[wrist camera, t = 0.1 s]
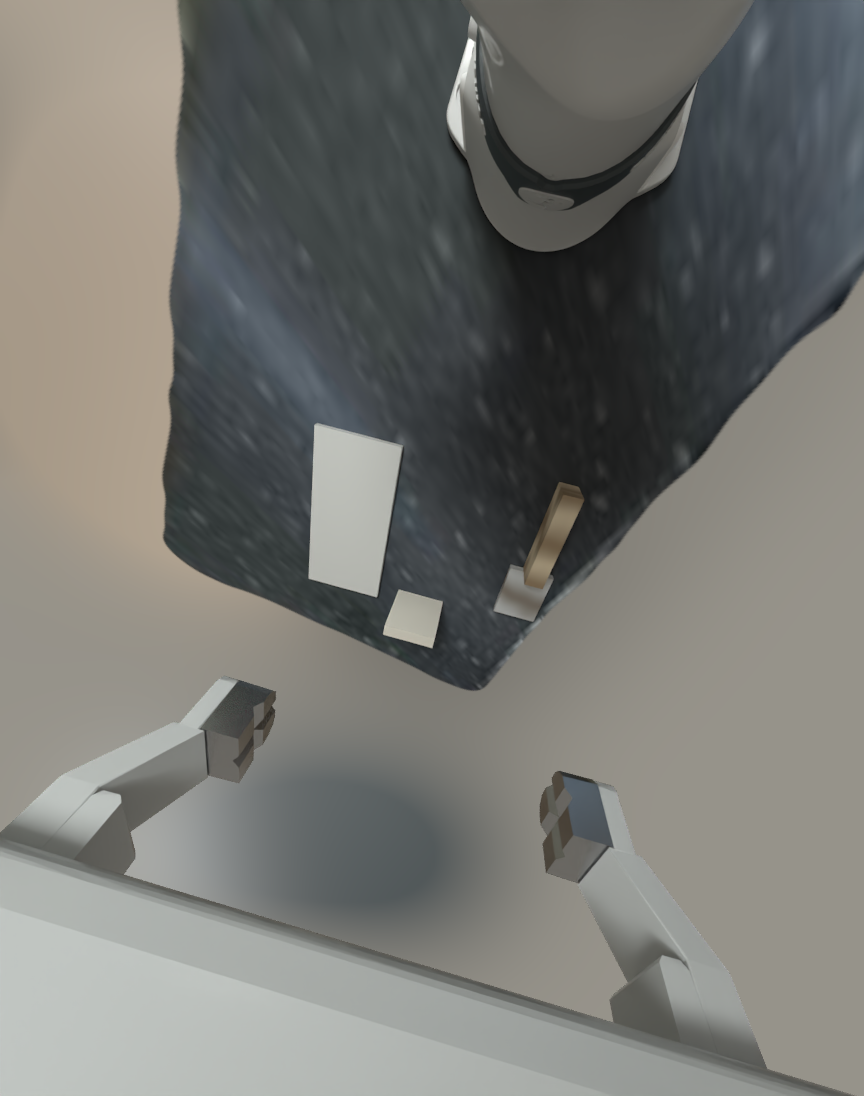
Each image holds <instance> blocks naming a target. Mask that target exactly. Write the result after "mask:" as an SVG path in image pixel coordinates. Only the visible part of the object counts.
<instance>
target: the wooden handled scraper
mask: <svg viewBox="0 0 864 1096" xmlns="http://www.w3.org/2000/svg"><path fill="white" fill-rule="evenodd" d="M583 502H584V498H583V496H582V493H581V491H580V489H579V487H577V486H573V485H570V484H566V483H562V482H559V483H558V486H557V488H556V490H555V493H554V495H553V498H552V500H551V502H550V505H549V507H548V510H547V512H546V514H545V517H544V519H543V522H542V524H541V526H540V529H539V531H538V533H537V536H536V538H535V541H534V543H533V545H532V548H531V550H530V553H529V555H528V557H527V560H526V562H525V565H524V567H519V566H515V565H511V564H510V567H509V570H508V572H507V575H506V577H505V580H504V582H503V585H502V587H501V590H500V592H499V595H498V597H497V600H496V603H495V605H494V611H495V612H499V613H503V614H506V615H510V616H514V617H517V618H521V619H525V620H528V621H532V622H533V621H534V619H535V617H536V615H537V613H538V611H539V609H540V607H541V605H542V603H543V600H544V598H545V596H546V594H547V592H548V590H549V588H550V586H551V584H552V582H553V580H554V579H553V576H552V575H549V574H550V572H551V570H552V568H553V566H554V564H555V562H556V560H557V557H558V555H559V553H560V551H561V549H562V547H563V545H564V543H565V540H566V538H567V536H568V534H569V532H570V530H571V528H572V526H573V523H574V521H575V519H576V517H577V515H578V513H579V511H580V509H581V506H582V504H583Z"/></svg>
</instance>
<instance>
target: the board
mask: <svg viewBox="0 0 864 1096" xmlns="http://www.w3.org/2000/svg"><path fill="white" fill-rule="evenodd" d="M402 452H403V445H399V444H396V443H392V442H388V441H384V440H380V439H376V438H373V437H369V436H365V435H361V434H357V433H353V432H350V431H346V430H342V429H338V428H334V427H330V426H326V425H323V424H319V423H317V424H315V429H314V455H313V480H312V506H311V532H310V558H309V579H312V580H316V581H319V582H323V583H327V584H330V585H334V586H337V587H341V588H345V589H348V590H352V591H356V592H359V593H363V594H367V595H370V596H374V597H377V596H378V593H379V587H380V581H381V575H382V570H383V564H384V558H385V552H386V546H387V540H388V534H389V528H390V522H391V516H392V511H393V505H394V499H395V493H396V487H397V481H398V475H399V469H400V463H401V458H402Z"/></svg>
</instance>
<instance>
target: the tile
mask: <svg viewBox="0 0 864 1096" xmlns="http://www.w3.org/2000/svg"><path fill="white" fill-rule="evenodd" d="M442 604H443V602H442V601H439V600H435V599H431V598H428V597H424V596H420V595H417V594H413V593H409V592H406V591H402V590H399V591H398V593H397V596H396V598H395V601H394V603H393V606H392V608H391V611H390V613H389V616H388V618H387V621H386V624H385V627H384V632H383V635H387V636H390V637H394V638H397V639H401V640H405V641H408V642H412V643H415V644H419V645H423V646H426V647H430V648H432V647H433V643H434V640H435V636H436V631H437V627H438V622H439V618H440V613H441V609H442Z"/></svg>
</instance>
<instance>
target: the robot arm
mask: <svg viewBox="0 0 864 1096" xmlns="http://www.w3.org/2000/svg"><path fill="white" fill-rule="evenodd" d="M460 1H461V2H462V4H463V5H464V6H465V8H466V9H467V10H468V12H469V13H470V15H471V18H470V22H469V28H468V41H467V44H466V48H465V51H464V54H463V58H462V61H461V65H460V68H459V71H458V75H457V78H456V81H455V85H454V88H453V91H452V95H451V98H450V101H449V105H448V109H447V127H448V131H449V133H450V135H451V137H452V139H453V141H454V142H455V144H456V146H457V147H458V149H459V150H460V151H461V153H462V154H463V155H464V157H465V158H466V159H467V162H468V164H469V167H470V170H471V173H472V177H473V181H474V185H475V189H476V193H477V196H478V199H479V201H480V204H481V206H482V208H483V210H484V212H485V214H486V216H487V218H488V219H489V221H490V222H491V224H492V225H493V226H494V227H495V229H496V230H497V231H498V232H499V233H500V234H501V235H502V236H503V237H505V238H506V239H507V240H509V241H510V242H512V243H513V244H515V245H517V246H519V247H522V248H525V249H528V250H533V251H540V252H548V251H557V250H561V249H565V248H568V247H571V246H573V245H576V244H578V243H580V242H582V241H584V240H585V239H587V238H589V237H590V236H592V235H593V234H594V233H596V232H597V231H598V230H600V229H601V228H602V227H603V226H604V225H605V224H606V223H607V222H608V221H609V220H610V219H611V218H612V217H613V216H614V215H615V214H616V213H617V212H618V211H619V210H620V209H621V208H622V207H623V206H624V205H625V204H626V203H628V202H629V201H630V200H631V199H633V198H635V197H637V196H640V195H642V194H644V193H646V192H648V191H650V190H652V189H653V188H655V187H657V186H658V185H660V184H661V183H662V182H664V181H665V180H666V179H667V178H668V176H669V175H670V174H671V172H672V171H673V170H674V168H675V166H676V163H677V161H678V157H679V153H680V149H681V145H682V141H683V137H684V133H685V129H686V125H687V121H688V117H689V113H690V109H691V105H692V101H693V97H694V93H695V89H696V85H697V81H698V78H699V77H700V76H701V74H702V73H703V72H704V71H705V69H706V68H707V67H708V66H709V64H710V63H711V62H712V61H713V59H714V58H715V57H716V56H717V54H718V53H719V52H720V50H721V49H722V48H723V46H724V45H725V44H726V42H727V41H728V40H729V38H730V37H731V36H732V34H733V33H734V31H735V30H736V29H737V27H738V26H739V24H740V23H741V21H742V20H743V18H744V17H745V15H746V13H747V12H748V10H749V9H750V7H751V5H752V4H753V2H754V0H460ZM275 700H276V691H273V690H269V689H266V688H263V687H260V686H256V685H253V684H250V683H247V682H244V681H240V680H237V679H234V678H230V677H227V676H223V677H221V678H220V679H218V680H217V681H216V682H215V683H214V684H213V686H212V687H211V688H210V689H209V690H208V691H207V692H206V694H205V695H204V696H203V697H202V698H201V699H200V700H199V701H198V702H197V704H196V705H195V706H194V707H193V708H192V709H191V710H190V712H189V713H188V714H187V715H186V716H185V717H184V718H183V719H182V721H181V722H180V723H176V722H172V723H170V724H168V725H166V726H164V727H162V728H160V729H158V730H156V731H153V732H152V733H149V734H147V735H145V736H143V737H141V738H139V739H137V740H134V741H133V742H130V743H128V744H126V745H124V746H122V747H120V748H118V749H115V750H114V751H111V752H109V753H107V754H105V755H103V756H101V757H99V758H97V759H94V760H92V761H90V762H88V763H86V764H84V765H82V766H80V767H78V768H75V769H73V770H72V771H69V772H67V773H65V774H63V775H61V776H60V777H59V778H58V779H57V780H56V781H55V782H54V783H53V784H52V785H50V786H49V787H48V788H47V789H46V790H45V791H44V792H43V793H42V794H41V795H40V796H39V797H38V798H37V799H35V801H33V802H32V803H31V804H30V805H29V806H28V807H27V808H26V809H25V810H24V811H23V812H22V813H21V814H20V815H19V816H17V817H16V818H15V819H14V820H13V821H12V822H11V823H10V824H9V825H8V826H7V827H6V828H5V829H4V830H2V831H1V832H0V1096H854V1095H851V1094H848V1093H844V1092H841V1091H838V1090H835V1089H832V1088H828V1087H825V1086H821V1085H818V1084H815V1083H812V1082H808V1081H805V1080H801V1079H798V1078H795V1077H792V1076H788V1075H785V1074H782V1073H778V1072H775V1071H772V1070H769V1069H767V1067H766V1065H765V1062H764V1059H763V1057H762V1054H761V1052H760V1049H759V1047H758V1044H757V1042H756V1039H755V1037H754V1034H753V1031H752V1029H751V1026H750V1024H749V1021H748V1019H747V1016H746V1014H745V1011H744V1008H743V1006H742V1003H741V1001H740V998H739V996H738V993H737V991H736V988H735V986H734V983H733V980H732V978H731V976H730V973H729V972H728V971H727V969H726V968H725V967H724V965H723V964H722V963H721V961H720V960H719V959H718V957H717V956H716V955H715V953H714V952H713V951H712V949H711V948H710V947H709V945H708V944H707V943H706V941H705V940H704V939H703V937H702V936H701V935H700V933H699V932H698V931H697V929H696V928H695V927H694V925H693V924H692V923H691V921H690V920H689V919H688V918H687V916H686V915H685V914H684V912H683V911H682V910H681V908H680V907H679V906H678V904H677V903H676V902H675V900H674V899H673V898H672V896H671V895H670V894H669V892H668V891H667V890H666V888H665V887H664V886H663V884H662V883H661V882H660V880H659V879H658V878H657V876H656V875H655V874H654V872H653V871H652V870H651V869H650V867H649V866H648V865H647V863H646V862H645V861H644V859H643V858H642V857H641V856H638V855H636V854H635V851H634V847H633V844H632V841H631V837H630V834H629V831H628V827H627V825H626V821H625V818H624V814H623V811H622V808H621V805H620V801H619V798H618V794H617V791H616V790H615V788H614V787H613V786H611V785H608V784H604V783H600V782H597V781H593V780H592V779H587V778H584V777H580V776H576V775H573V774H569V773H565V772H561V771H557V772H555V774H554V775H553V777H552V783H553V785H551V786H549V787H547V788H546V789H545V790H544V792H543V794H542V798H541V803H540V823H541V826H542V828H543V829H544V831H545V833H546V834H547V837H546V839H545V840H544V842H543V851H544V860H545V869H546V873H548V874H551V875H555V876H557V877H560V878H563V879H567V880H570V881H573V882H576V883H579V884H578V887H579V889H580V891H581V892H582V895H583V896H584V898H585V900H586V902H587V904H588V906H589V908H590V910H591V912H592V914H593V916H594V918H595V920H596V922H597V924H598V925H599V927H600V929H601V931H602V933H603V935H604V937H605V939H606V941H607V943H608V945H609V947H610V949H611V951H612V953H613V955H614V957H615V959H616V961H617V962H618V964H619V966H620V968H621V970H622V972H623V974H624V976H625V978H626V980H627V982H628V983H627V984H626V985H624V986H623V987H622V988H621V989H619V990H618V991H617V992H616V993H614V995H613V996H612V998H611V999H610V1005H611V1010H612V1016H613V1022H614V1023H613V1022H610V1021H606V1020H603V1019H600V1018H597V1017H593V1016H590V1015H587V1014H583V1013H580V1012H577V1011H573V1010H570V1009H567V1008H563V1007H560V1006H557V1005H554V1004H550V1003H547V1002H543V1001H540V1000H537V999H534V998H530V997H527V996H524V995H520V994H517V993H514V992H510V991H507V990H504V989H500V988H497V987H494V986H490V985H487V984H484V983H481V982H477V981H473V980H471V979H467V978H464V977H461V976H458V975H454V974H451V973H448V972H444V971H441V970H438V969H434V968H431V967H428V966H424V965H421V964H418V963H414V962H411V961H408V960H404V959H401V958H398V957H395V956H391V955H388V954H385V953H381V952H378V951H375V950H371V949H368V948H365V947H361V946H358V945H355V944H352V943H348V942H345V941H342V940H338V939H335V938H332V937H328V936H325V935H322V934H318V933H315V932H312V931H309V930H305V929H302V928H299V927H295V926H292V925H289V924H285V923H282V922H279V921H276V920H272V919H269V918H265V917H262V916H259V915H256V914H252V913H249V912H245V911H242V910H239V909H236V908H232V907H229V906H226V905H222V904H219V903H216V902H212V901H209V900H206V899H203V898H199V897H196V896H193V895H189V894H186V893H183V892H179V891H176V890H173V889H169V888H166V887H163V886H160V885H156V884H153V883H149V882H146V881H143V880H140V879H136V878H133V877H130V876H126V875H124V873H125V872H126V870H127V869H128V868H129V866H130V865H131V863H132V862H133V861H134V859H135V848H134V844H133V841H132V837H131V833H130V832H131V831H132V830H134V829H135V828H136V827H138V826H139V825H140V824H142V823H143V822H145V821H146V820H148V819H149V818H151V817H152V816H153V815H155V814H156V813H158V812H159V811H161V810H162V809H163V808H165V807H166V806H168V805H169V804H170V803H172V802H173V801H175V800H176V799H178V798H179V797H180V796H182V795H183V794H185V793H186V792H188V791H189V790H190V789H192V788H193V787H195V786H196V785H198V784H199V783H200V782H202V781H203V780H205V779H206V778H207V777H208V775H209V776H213V777H216V778H221V779H224V780H228V781H232V782H236V783H239V782H240V781H241V779H242V778H243V776H244V774H245V773H246V771H247V769H248V768H249V766H250V765H251V763H252V761H253V756H254V750H255V749H256V748H258V747H260V746H261V745H263V743H264V742H265V740H266V738H267V736H268V735H269V732H270V729H271V727H272V725H273V722H274V718H275V709H274V708H273V707H272V705H273V703H274V702H275Z"/></svg>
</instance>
